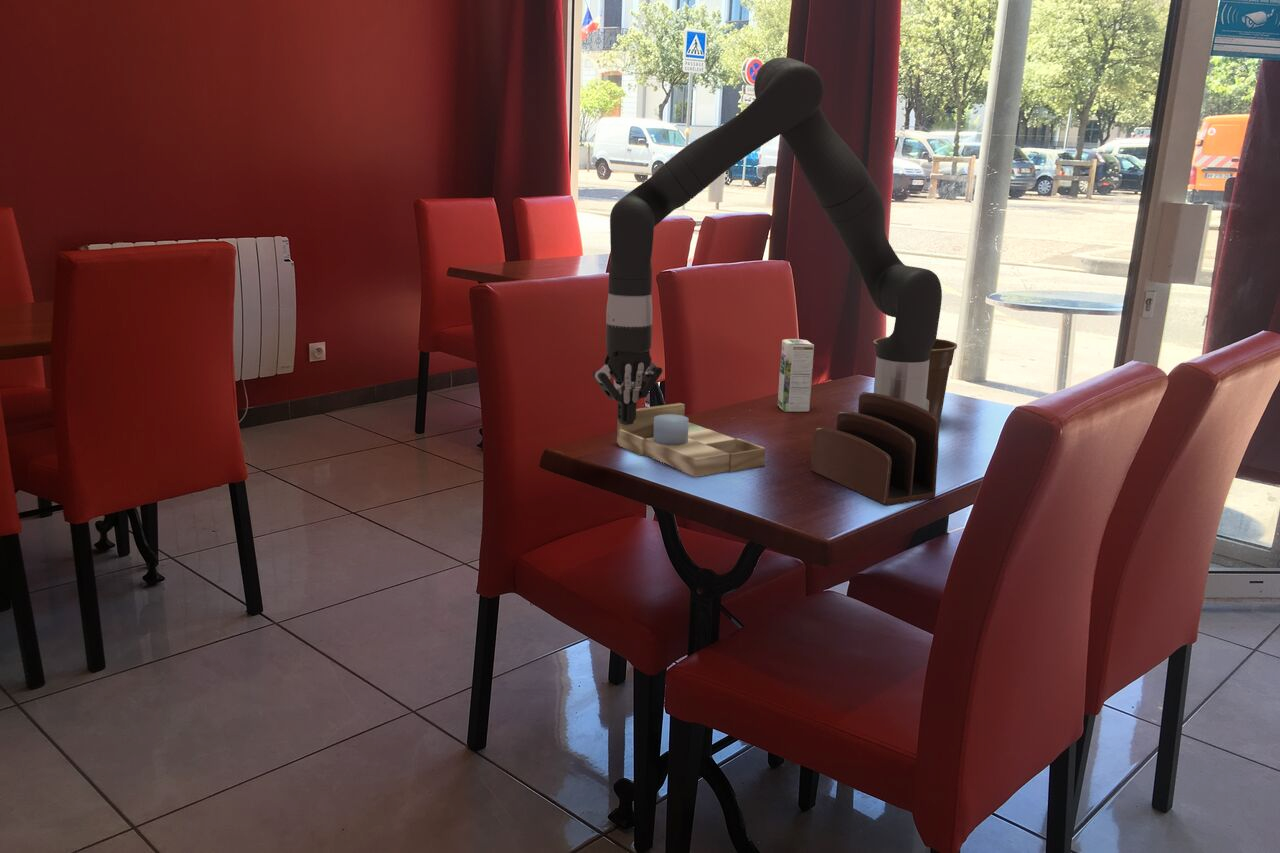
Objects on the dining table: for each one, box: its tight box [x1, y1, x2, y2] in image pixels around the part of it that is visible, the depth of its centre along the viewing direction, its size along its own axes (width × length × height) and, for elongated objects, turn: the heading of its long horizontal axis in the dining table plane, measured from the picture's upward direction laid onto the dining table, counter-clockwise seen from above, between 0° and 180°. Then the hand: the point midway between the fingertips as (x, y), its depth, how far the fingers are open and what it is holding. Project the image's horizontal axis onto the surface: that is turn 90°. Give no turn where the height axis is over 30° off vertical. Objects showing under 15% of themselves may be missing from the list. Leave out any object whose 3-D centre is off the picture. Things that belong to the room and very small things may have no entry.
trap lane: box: [616, 402, 766, 478], centre depth 183 cm, size 25×15×6 cm, turn 34°
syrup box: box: [777, 338, 815, 413], centre depth 217 cm, size 6×6×14 cm
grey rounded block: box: [654, 414, 690, 445], centre depth 180 cm, size 6×6×4 cm
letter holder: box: [810, 391, 940, 506], centre depth 167 cm, size 10×20×14 cm, turn 26°
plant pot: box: [872, 336, 958, 423], centre depth 209 cm, size 16×16×16 cm
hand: (626, 423), depth 174 cm, fingers closed
